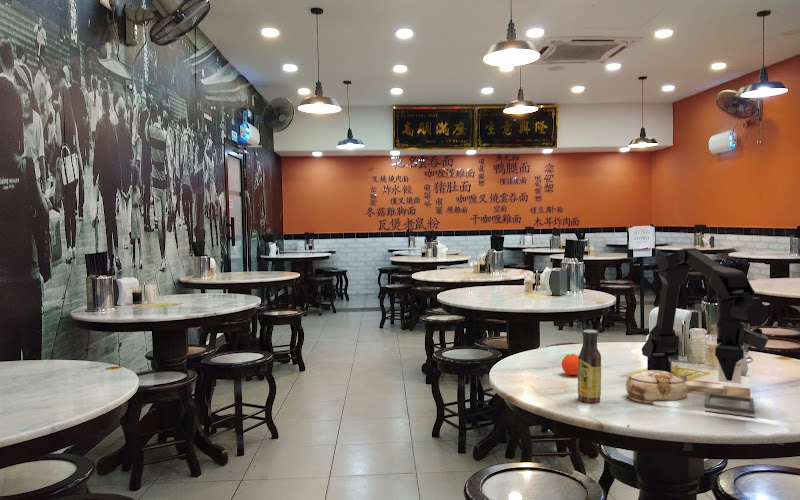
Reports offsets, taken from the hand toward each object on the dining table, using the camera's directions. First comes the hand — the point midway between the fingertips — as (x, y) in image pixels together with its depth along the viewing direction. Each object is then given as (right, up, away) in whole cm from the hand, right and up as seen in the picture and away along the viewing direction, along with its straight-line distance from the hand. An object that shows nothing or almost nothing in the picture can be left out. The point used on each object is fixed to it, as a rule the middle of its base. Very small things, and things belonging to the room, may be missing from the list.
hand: (729, 377), depth 150 cm
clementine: (-31, -8, +36) cm, 48 cm away
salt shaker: (+21, -7, +31) cm, 38 cm away
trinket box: (-15, -9, +10) cm, 20 cm away
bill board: (+3, -8, +13) cm, 15 cm away
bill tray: (0, -8, 0) cm, 8 cm away
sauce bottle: (-34, -9, +10) cm, 36 cm away
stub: (0, -1, 0) cm, 1 cm away
